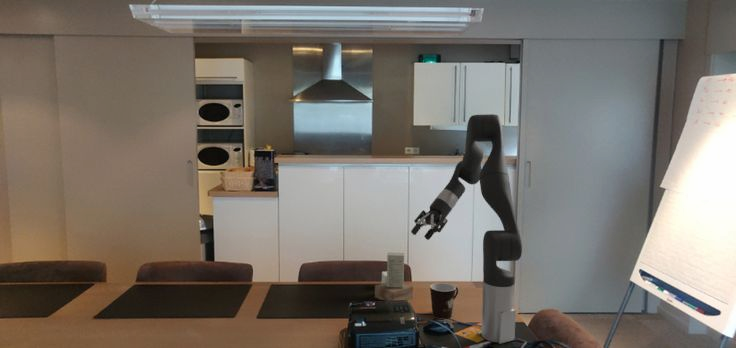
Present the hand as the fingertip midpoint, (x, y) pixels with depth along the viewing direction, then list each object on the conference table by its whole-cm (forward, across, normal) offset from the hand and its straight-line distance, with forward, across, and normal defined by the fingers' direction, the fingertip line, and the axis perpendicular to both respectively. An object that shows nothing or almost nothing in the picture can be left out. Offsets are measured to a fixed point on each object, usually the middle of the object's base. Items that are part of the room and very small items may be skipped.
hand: (419, 235), depth 189 cm
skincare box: (+20, 0, +5) cm, 21 cm away
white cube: (+20, -11, +12) cm, 26 cm away
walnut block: (+24, 0, +8) cm, 25 cm away
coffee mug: (+19, +22, +13) cm, 32 cm away
